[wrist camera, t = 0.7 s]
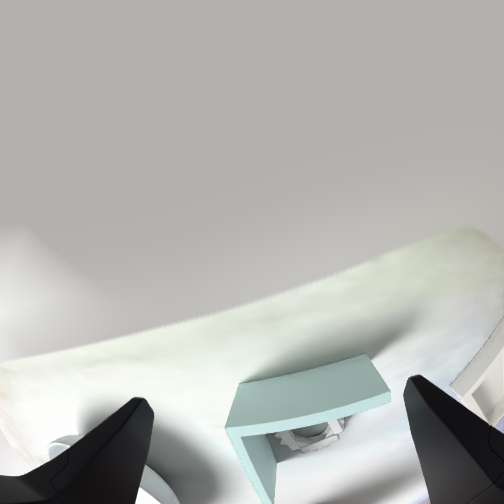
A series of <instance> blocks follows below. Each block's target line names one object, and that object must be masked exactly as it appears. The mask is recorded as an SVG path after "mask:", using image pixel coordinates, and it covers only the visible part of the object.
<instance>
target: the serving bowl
mask: <svg viewBox="0 0 504 504" xmlns="http://www.w3.org/2000/svg"><path fill="white" fill-rule="evenodd" d="M82 437H84V435H69V436H64V437H61V438H59V439H57V440H55V441H53V442H51V443H50V444H49V445H48V447H47V456H48V459H49V461H50V460H52V459H53V458H55V457H56V456H58V455H59V454H61V453H62V452H63V451H65V450H66V449H67V448H70V446H72V445H73V444H74V443H76V442H77V441H78V440H80V439H81V438H82ZM135 504H180V503H179V501H178V499H177V497H176V495H175V494H174V492H173V491H172V489H171V488H170V487H169V485H168V484H167V483H166V482H165V481H164V480H163V479H162V478H161V477H160V476H159V475H158V474H157V473H156V472H154V471H153V470H152V469H151V468H150V467H148V466H147V465H146V464H145V467H144V471H143V475H142V479H141V483H140V487H139V491H138V495H137V499H136V503H135Z"/></svg>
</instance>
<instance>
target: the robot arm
mask: <svg viewBox="0 0 504 504" xmlns="http://www.w3.org/2000/svg"><path fill="white" fill-rule="evenodd" d="M403 397H404V402H405V407H406V411H407V416H408V420H409V425H410V430H411V435H412V438H413V441H414V444H415V448H416V451H417V454H418V457H419V461H420V464H421V468H422V471H423V475H424V478H425V482H426V486H427V490H428V494H429V498H430V502H431V504H504V434H503V433H502V432H500V431H499V430H497V429H496V428H494V427H493V426H492V425H489V423H487V422H486V421H485V420H483V419H482V418H480V417H479V416H478V415H476V414H475V413H473V412H472V411H471V410H469V409H468V408H466V407H465V406H464V405H462V404H461V403H459V402H458V401H457V400H455V399H454V398H452V397H451V396H450V395H448V394H447V393H445V392H444V391H443V390H441V389H440V388H438V387H437V386H436V385H434V384H433V383H431V382H430V381H429V380H427V379H426V378H424V377H423V376H422V375H415V376H411V377H409V378H408V380H407V383H406V387H405V390H404V394H403ZM153 421H154V412H153V410H152V408H151V407H150V405H149V404H148V402H147V400H146V399H145V398H141V397H134V398H132V399H131V400H130V401H128V402H127V403H126V404H125V405H123V406H122V407H121V408H120V409H118V410H117V411H116V412H115V413H113V414H112V415H111V416H110V417H108V418H107V419H106V420H104V421H103V422H102V423H101V424H99V425H98V426H97V427H95V428H94V429H93V430H91V431H90V432H89V433H88V434H86V435H85V436H84V437H82V438H81V439H80V440H78V441H77V442H76V443H74V444H73V445H72V446H70V448H67V449H66V450H65V451H63V452H62V453H61V454H59V455H58V456H56V457H55V458H53V459H52V460H50V461H48V462H47V463H45V464H43V465H41V466H40V467H38V468H36V469H34V470H32V471H30V472H28V473H26V474H24V475H21V476H3V475H0V504H135V503H136V499H137V495H138V491H139V487H140V483H141V479H142V475H143V471H144V467H145V463H146V460H147V456H148V452H149V447H150V440H151V434H152V427H153Z"/></svg>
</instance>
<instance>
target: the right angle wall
mask: <svg viewBox="0 0 504 504" xmlns="http://www.w3.org/2000/svg"><path fill="white" fill-rule="evenodd" d="M389 402H391V391H390V389H389V388H388V386H387V385H386V383H385V382H384V380H383V379H382V377H381V376H380V374H379V373H378V371H377V370H376V368H375V367H374V365H373V364H372V362H371V361H370V359H369V358H368V356H367V355H366V353H365V354H362V355H359V356H356V357H352V358H349V359H346V360H342V361H339V362H335V363H332V364H328V365H325V366H321V367H317V368H313V369H309V370H305V371H301V372H297V373H292V374H288V375H283V376H278V377H274V378H268V379H263V380H258V381H252V382H246V383H240V384H239V385H238V388H237V392H236V395H235V398H234V401H233V404H232V407H231V410H230V413H229V416H228V419H227V422H226V425H225V430H226V432H227V435H228V437H229V439H230V441H231V443H232V446H233V448H234V450H235V452H236V454H237V456H238V458H239V460H240V462H241V464H242V466H243V468H244V470H245V472H246V474H247V476H248V478H249V480H250V482H251V484H252V486H253V488H254V490H255V492H256V493H257V495H258V497H259V499H260V501H261V502H262V504H274V496H275V483H276V469H277V462H276V460H275V457H274V454H273V452H272V449H271V446H270V444H269V441H268V438H267V435H266V434H267V433H274V432H275V433H276V434H275V437H277V438H280V440H281V442H280V444H282V445H287V446H288V447H289V448H290V449H291V450H292V451H294V450H297V449H300V451H301V452H302V453H305V452H308V451H311V450H313V451H316V450H317V449H318V448H319V447H328V446H329V445H330V443H331V442H334V441H336V440H338V439H339V434H338V433H341V432H343V429H344V428H345V426H344V425H343V424H344V422H345V420H343V419H344V417H346V416H350V415H353V414H357V413H360V412H363V411H366V410H369V409H372V408H375V407H378V406H381V405H384V404H386V403H389ZM324 422H327V423H328V426H327V428H326V429H325V430H324V431H323V432H322V434H321V435H319V436H314V437H309V438H305V437H301V436H298V435H296V434H293V433H292V431H291V429H296V428H301V427H306V426H311V425H315V424H320V423H324Z"/></svg>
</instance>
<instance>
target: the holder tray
mask: <svg viewBox="0 0 504 504" xmlns="http://www.w3.org/2000/svg"><path fill="white" fill-rule="evenodd" d="M450 387H451V388H452V390H453V391H454V392H455V394H456V395H457V396H458V398H459V399H460V401H461V402H462V403H463V405H464V406H465V407H466V408H468V409H469V410H471V411H472V412H473V413H475V414H476V415H478V416H479V417H480V418H482V419H483V420H485V421H486V422H487V423H489V425H492V426H493V427H495V426H496V424H497V423H498V422H499V421H500V420H501V419H502V418H503V416H504V317H503V319H502V320H501V322H500V323H499V325H498V326H497V328H496V329H495V330H494V332H493V333H492V335H491V336H490V338H489V339H488V340H487V342H486V343H485V344H484V346H483V347H482V348H481V349H480V351H479V352H478V353H477V355H476V356H475V357H474V358H473V360H472V361H471V362H470V363H469V364H468V366H467V367H466V368H465V369H464V370H463V371H462V372H461V374H460V375H459V376H458V377H457V378H456V379H455V380H454V381H453V382H452V383H451V385H450Z"/></svg>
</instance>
